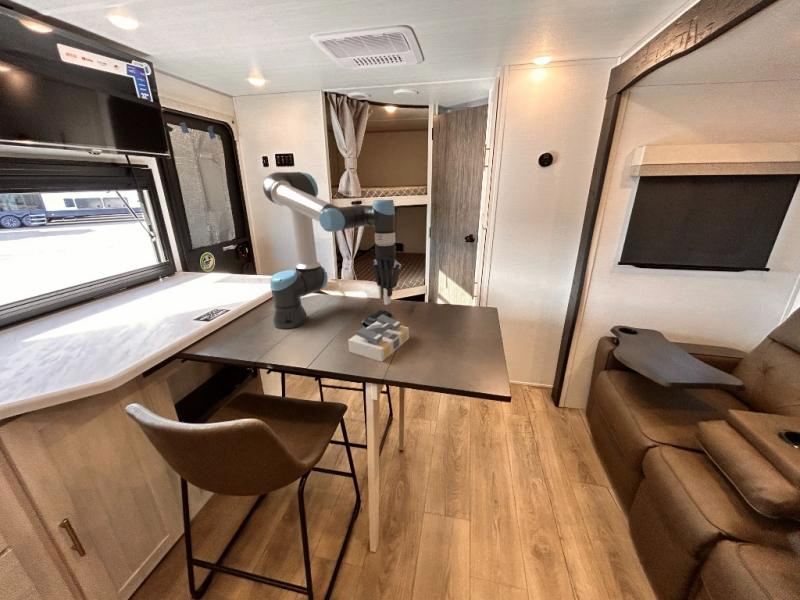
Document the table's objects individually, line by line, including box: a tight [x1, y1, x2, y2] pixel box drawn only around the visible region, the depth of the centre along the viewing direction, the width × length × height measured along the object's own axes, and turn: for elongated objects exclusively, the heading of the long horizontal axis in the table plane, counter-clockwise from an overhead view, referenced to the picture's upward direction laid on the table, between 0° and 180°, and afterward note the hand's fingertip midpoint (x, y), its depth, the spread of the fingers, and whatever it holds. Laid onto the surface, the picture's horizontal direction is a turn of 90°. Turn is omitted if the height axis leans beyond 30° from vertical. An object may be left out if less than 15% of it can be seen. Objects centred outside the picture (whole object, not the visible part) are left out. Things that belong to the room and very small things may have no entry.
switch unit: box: [347, 321, 410, 363], centre depth 122 cm, size 15×20×6 cm
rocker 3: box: [377, 314, 402, 330], centre depth 126 cm, size 9×4×2 cm, turn 60°
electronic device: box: [361, 309, 394, 328], centre depth 143 cm, size 9×6×15 cm
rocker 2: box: [368, 323, 391, 332], centre depth 121 cm, size 9×4×2 cm, turn 58°
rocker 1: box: [356, 326, 383, 344], centre depth 115 cm, size 9×4×2 cm, turn 60°
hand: (387, 303), depth 123 cm, fingers closed
